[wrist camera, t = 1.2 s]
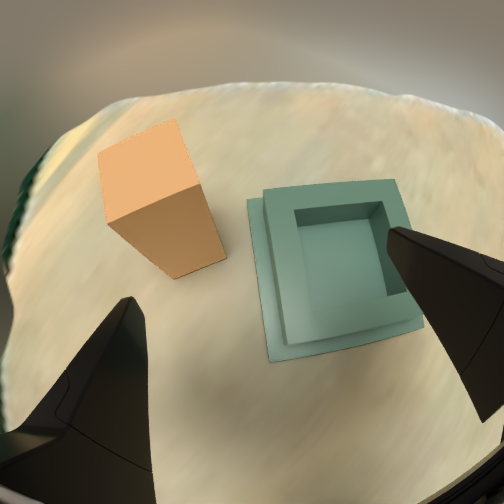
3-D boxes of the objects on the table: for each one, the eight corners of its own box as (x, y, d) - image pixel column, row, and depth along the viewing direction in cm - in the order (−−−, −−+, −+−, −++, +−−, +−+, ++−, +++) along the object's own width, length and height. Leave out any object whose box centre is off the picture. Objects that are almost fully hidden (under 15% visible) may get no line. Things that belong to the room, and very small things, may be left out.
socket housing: (420, 327, 22) (446, 323, 18) (269, 361, 22) (271, 366, 17) (384, 190, 26) (400, 166, 22) (247, 203, 26) (244, 178, 22)
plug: (226, 257, 24) (199, 183, 13) (173, 279, 24) (106, 223, 12) (207, 209, 26) (175, 118, 14) (158, 230, 25) (97, 153, 14)
